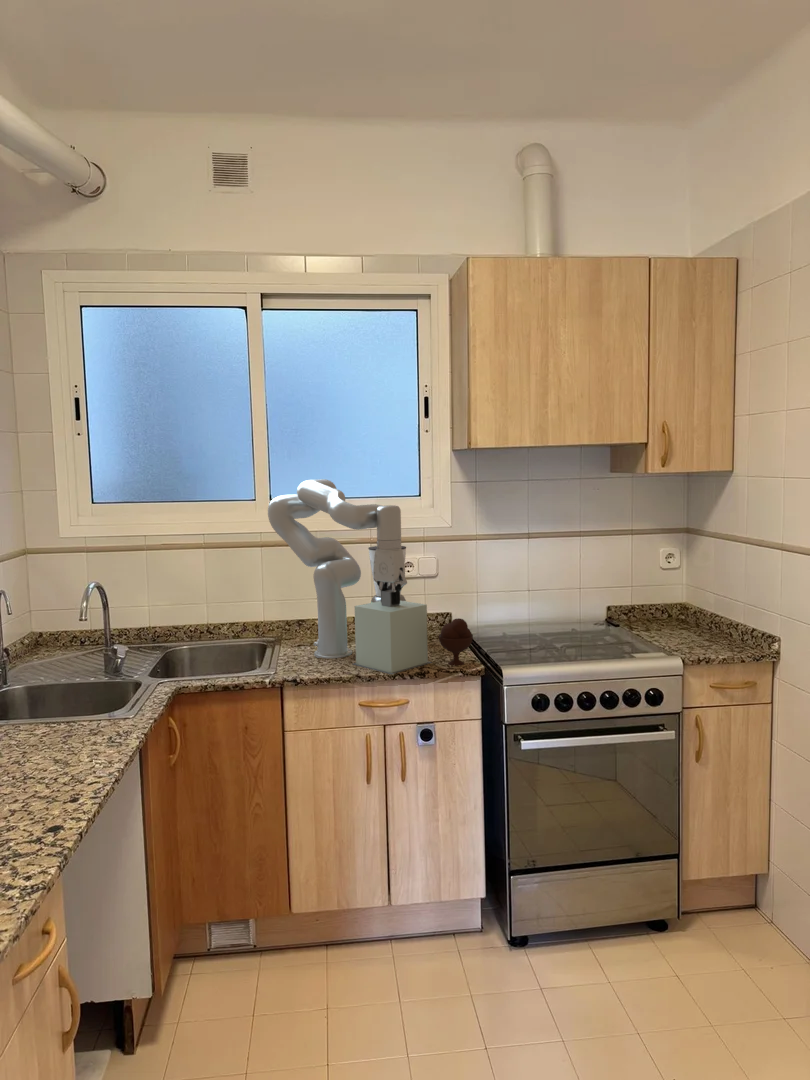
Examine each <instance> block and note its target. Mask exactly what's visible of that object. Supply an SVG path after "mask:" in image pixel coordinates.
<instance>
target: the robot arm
mask: <svg viewBox="0 0 810 1080" xmlns="http://www.w3.org/2000/svg"><path fill="white" fill-rule="evenodd" d="M320 511H322V512H323V513H325V514H328V515H329V517H330V518H331V519H332V520H333V521H334V522H336V523H337V524H339V525H342V526H343V527H346V528H349V529H352V530H360V531H361V530H365V529H375V528H376V542H375V543H376V546H377V549H376V551H375V557H374V581H375V582H376V583H377V584H378V586H379V590H381V591H386V590H389V589H388V583H392V590H393V592H391V598H392V605H396V604H400V591H401V592H402V589H403V587H405V586H406V585H407V584H408V580H407V578H406V566H405V565H406V562H405V563H404V556H403V551H402V550H401V546H402V512H401V511H402V510H401V508H400V507H399V506H398V505H396V504H395V505H391V504H388V505H382V504H376V503H375V504H374V503H372V504H359V505H355V504H352V503H350V502H347V501H346V496H345V493H344V492H343V491H342V490H340V489H337V486H336V484H335V483H334V482H332V480H329V479H323V478H322V479H320V478H319V479H308V480H304V481H302V482H300V484H299V485H298V486H297V489H296V494H295V493H294V494H283V495H278V496H276V497H274V498H272V500H270V502H269V504H268V507H267V517H268V521H269V523H270V526H271V528H272V529H273V531H275V533H276V534H277V535H278V536H279V537H280V538H281V539H282V540H283V541H284V542H285V543H286V544H287V545H288V547H289V548H290V550H292V551H293V553H294V554H296V556H297V558H298V559H299V560H300V561H301V562H302V563H303V565H306V567H307V568H315V569H314V572H313V583H314V588H315V592H316V601H317V602H316V603H317V627H318V629H317V631H318V632H317V633H318V639H317V640H316V641H314V642H313V646H315V647H317V649H316V650H315V651H314V653H313V654H314V657H315V658H317V659H320V658H321V659H340V658H346V657H349V656H351V655H352V654H353V650H352V649H351V648H348V623H347V622H348V621H347V601H346V596H345V594H344V593H343V590H342V588H347V587H351V586H355V584H358V583H359V581H360V580H361V576H362V571H361V567H360V565H359V563H358V562H357V560H356V559H355V558H354V557H353V556H352V555H351V554H350V552H349V551H348V550H347V549H346V548H345V546H343V544H342V543H341V542H339V541H338V540H337V539H335V538H333V537H328V536H327V537H317V536H315V535H314V534H312V532H311V531H309V529H308V528H307V527H306V526H305V525H303V524H302V523H301V522H299V521H298V520H299V519H306V518H310V517H312V516H314V515H315V514H317V513H319V512H320ZM297 519H298V520H297ZM374 581H373V582H374ZM400 581H401V582H400ZM384 582H385V584H384ZM396 583H397V586H396ZM381 603H382V602H381Z"/></svg>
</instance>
